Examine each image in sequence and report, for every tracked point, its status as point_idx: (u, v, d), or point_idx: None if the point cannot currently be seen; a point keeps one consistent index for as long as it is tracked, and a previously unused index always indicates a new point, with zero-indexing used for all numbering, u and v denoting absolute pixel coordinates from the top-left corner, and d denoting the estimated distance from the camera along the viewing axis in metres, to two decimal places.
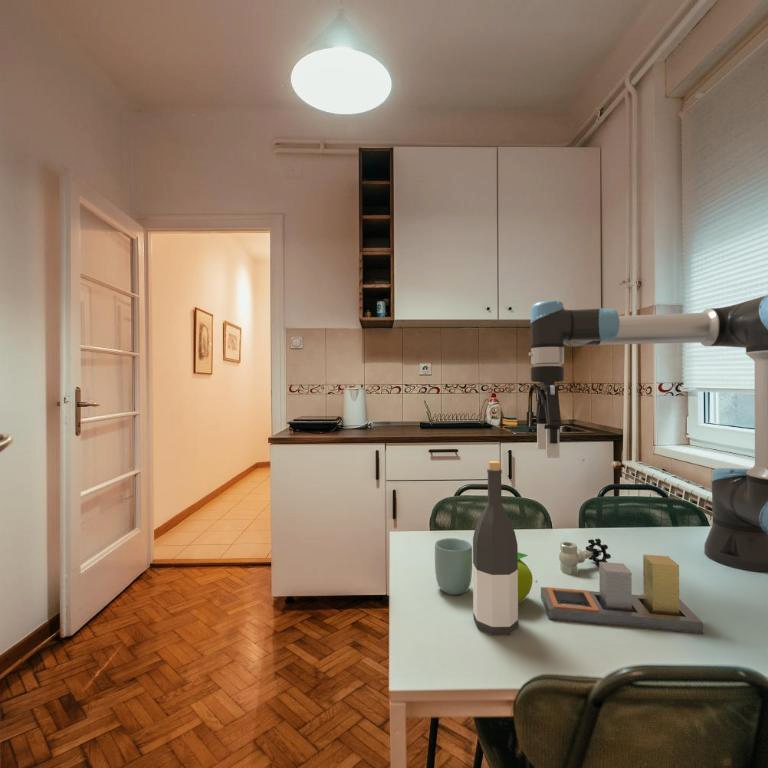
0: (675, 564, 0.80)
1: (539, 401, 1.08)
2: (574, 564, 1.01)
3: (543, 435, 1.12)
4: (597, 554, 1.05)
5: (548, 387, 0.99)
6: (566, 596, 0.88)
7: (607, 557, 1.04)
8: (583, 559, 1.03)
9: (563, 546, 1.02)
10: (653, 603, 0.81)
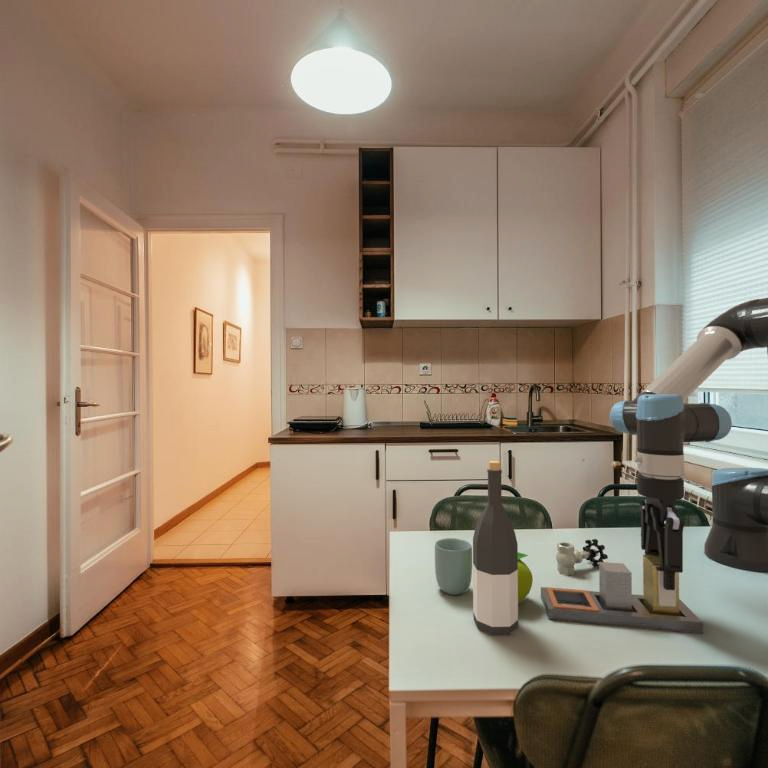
0: None
1: (649, 520, 0.84)
2: (571, 564, 1.01)
3: None
4: (594, 554, 1.05)
5: (671, 522, 0.76)
6: (566, 596, 0.88)
7: (604, 557, 1.04)
8: (580, 560, 1.03)
9: (560, 546, 1.02)
10: (653, 602, 0.81)
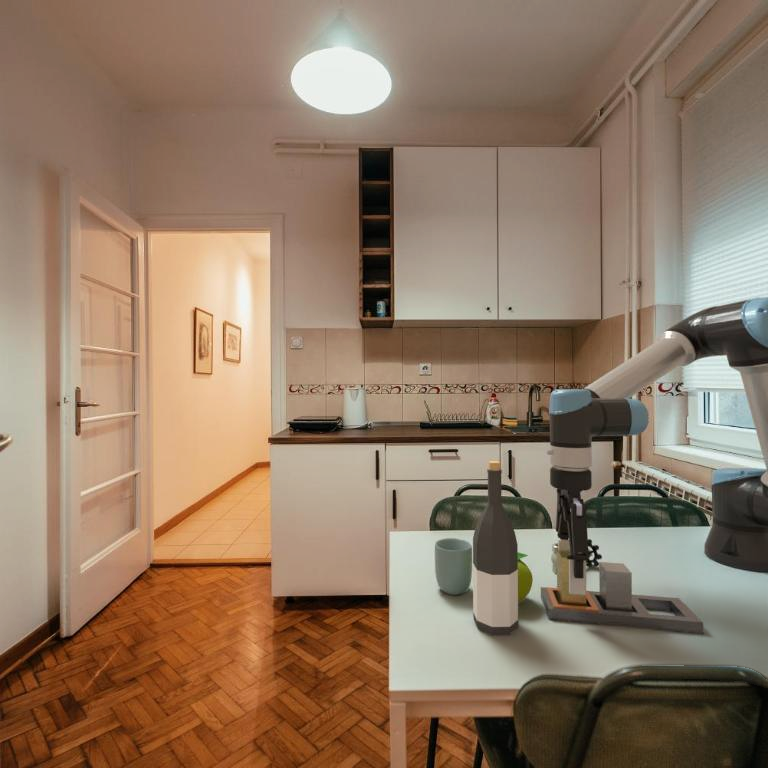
0: None
1: (560, 509, 0.88)
2: None
3: None
4: None
5: (574, 507, 0.79)
6: None
7: (598, 558, 1.03)
8: None
9: (555, 547, 1.02)
10: (562, 595, 0.84)
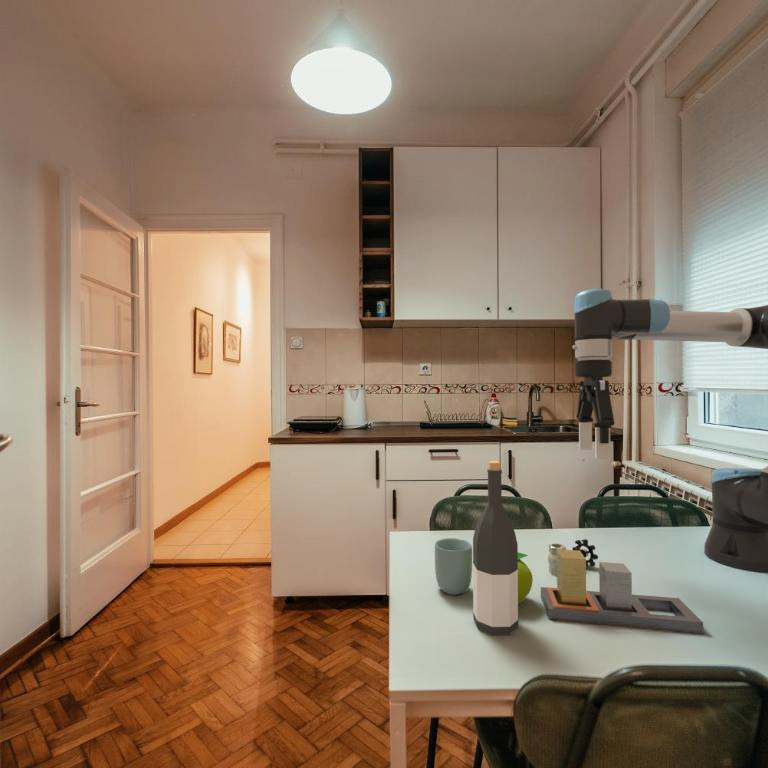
0: (582, 558, 0.83)
1: (583, 398, 1.01)
2: None
3: (586, 434, 1.04)
4: (584, 555, 1.05)
5: (598, 382, 0.92)
6: None
7: (595, 558, 1.03)
8: None
9: (552, 548, 1.01)
10: (562, 595, 0.84)
